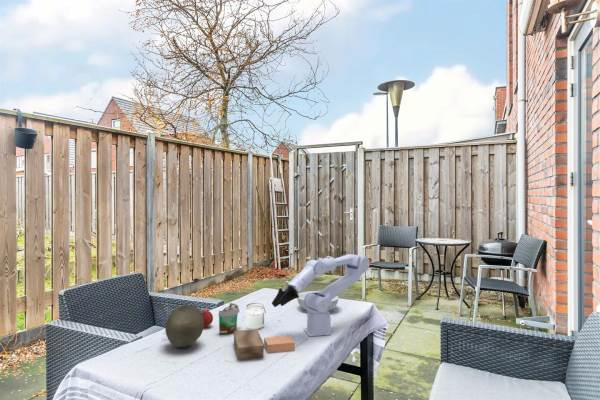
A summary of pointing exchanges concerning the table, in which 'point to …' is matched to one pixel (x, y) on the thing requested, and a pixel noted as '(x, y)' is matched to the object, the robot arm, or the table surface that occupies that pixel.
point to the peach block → (279, 344)
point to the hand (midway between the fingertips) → (276, 304)
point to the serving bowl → (303, 294)
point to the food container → (228, 319)
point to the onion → (207, 317)
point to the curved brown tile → (248, 344)
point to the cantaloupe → (184, 325)
